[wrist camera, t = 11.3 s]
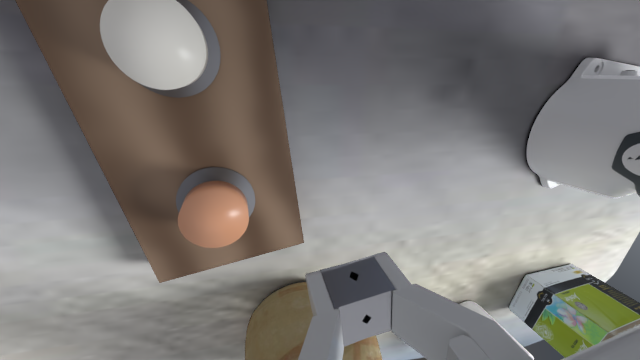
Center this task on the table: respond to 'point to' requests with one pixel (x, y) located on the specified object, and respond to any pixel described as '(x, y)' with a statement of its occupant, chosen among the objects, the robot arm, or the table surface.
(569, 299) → the tea box
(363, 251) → the table surface
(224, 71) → the button panel
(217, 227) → the button terracotta
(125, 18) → the button cream
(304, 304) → the ceramic vessel
